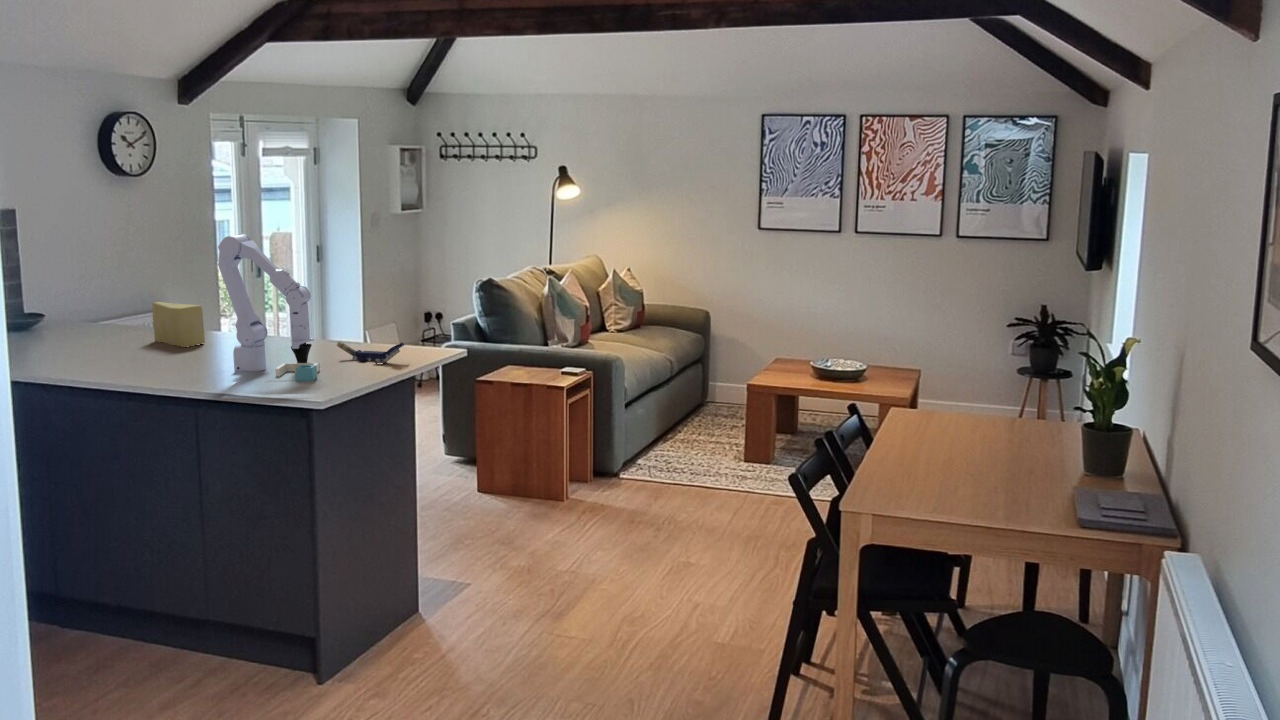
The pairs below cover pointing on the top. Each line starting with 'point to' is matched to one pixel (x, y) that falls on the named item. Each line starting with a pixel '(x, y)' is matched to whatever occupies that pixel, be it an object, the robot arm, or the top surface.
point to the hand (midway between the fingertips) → (302, 367)
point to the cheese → (178, 324)
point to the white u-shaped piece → (292, 367)
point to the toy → (371, 353)
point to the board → (292, 381)
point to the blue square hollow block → (306, 373)
